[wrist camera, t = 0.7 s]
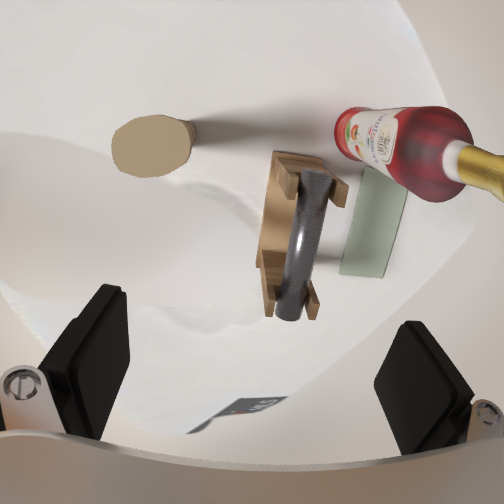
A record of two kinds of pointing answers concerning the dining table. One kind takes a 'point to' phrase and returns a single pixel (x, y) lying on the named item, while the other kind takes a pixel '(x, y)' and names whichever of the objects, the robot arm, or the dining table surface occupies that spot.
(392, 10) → the dining table surface
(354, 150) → the liquor
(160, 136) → the handle
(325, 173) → the rail
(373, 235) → the mat
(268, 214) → the hook stand
